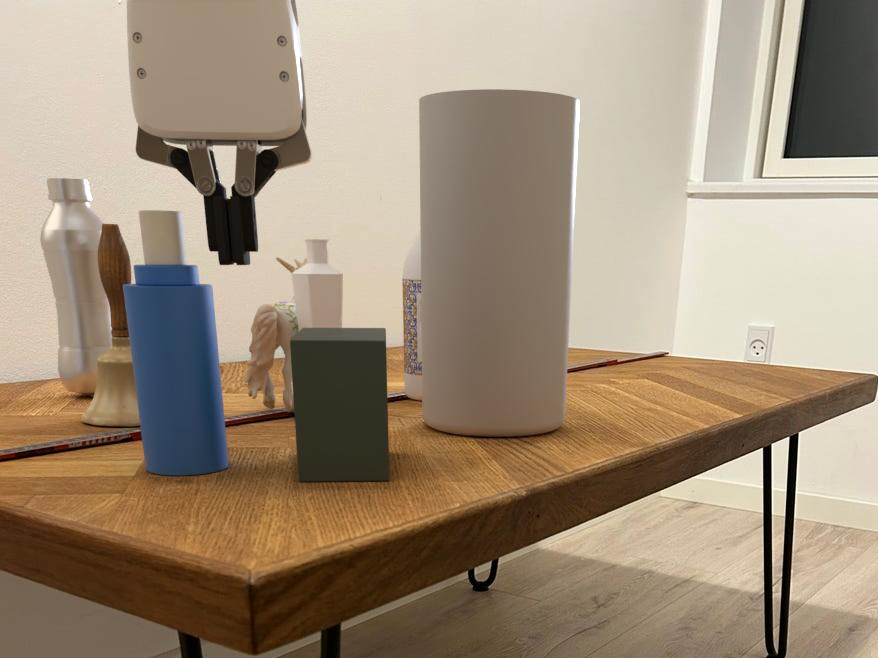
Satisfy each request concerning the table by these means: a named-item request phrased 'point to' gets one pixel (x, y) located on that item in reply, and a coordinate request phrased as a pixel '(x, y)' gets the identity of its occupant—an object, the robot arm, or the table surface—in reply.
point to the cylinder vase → (496, 258)
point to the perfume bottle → (318, 289)
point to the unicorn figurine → (272, 347)
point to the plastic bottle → (76, 283)
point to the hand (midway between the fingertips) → (235, 264)
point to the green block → (340, 404)
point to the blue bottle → (174, 355)
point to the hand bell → (114, 340)
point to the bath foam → (412, 320)
